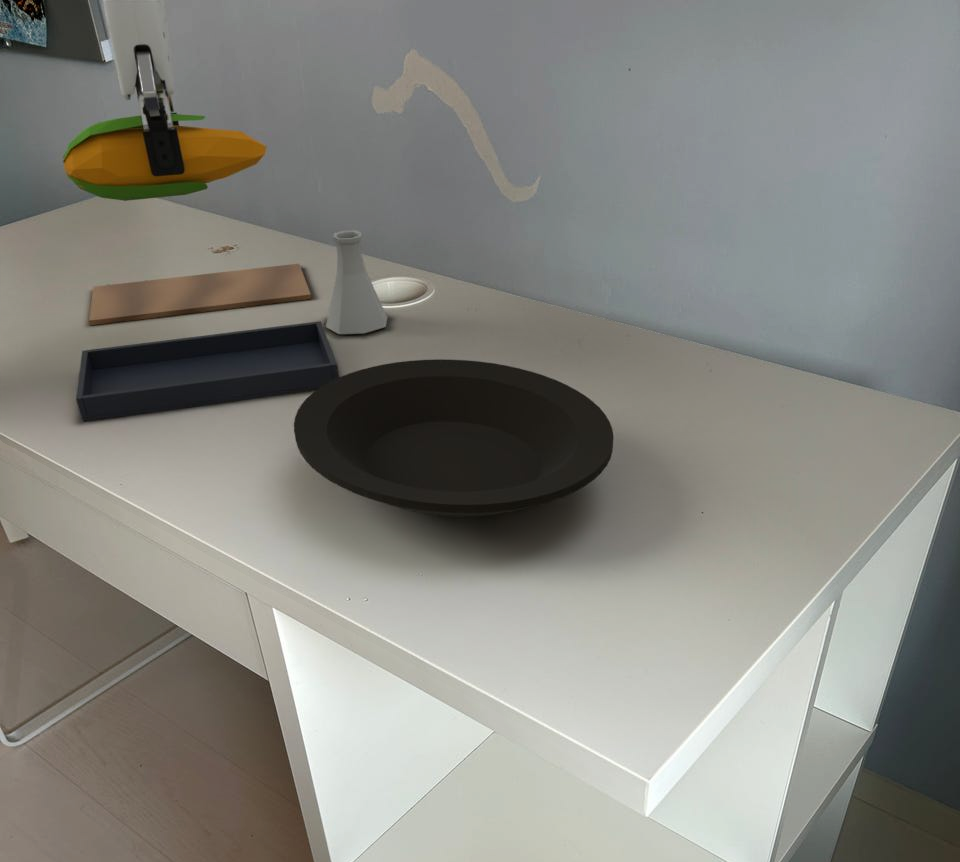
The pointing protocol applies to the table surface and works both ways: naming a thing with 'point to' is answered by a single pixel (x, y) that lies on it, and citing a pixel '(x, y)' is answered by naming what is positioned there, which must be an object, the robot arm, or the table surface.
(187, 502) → the table surface
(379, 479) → the plate
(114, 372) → the tray
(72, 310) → the table surface
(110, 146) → the corn
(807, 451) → the table surface
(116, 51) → the robot arm
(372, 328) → the flask
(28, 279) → the table surface
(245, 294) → the board
